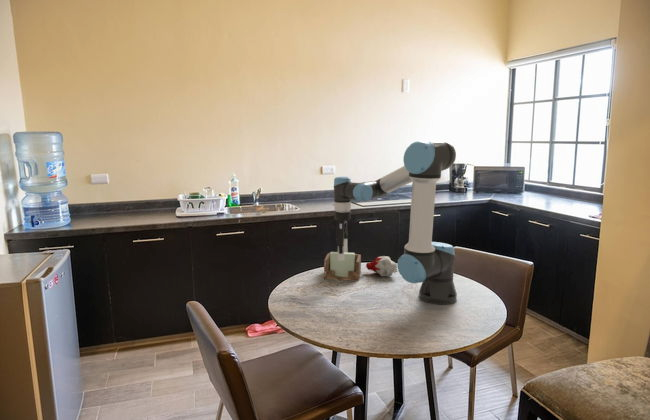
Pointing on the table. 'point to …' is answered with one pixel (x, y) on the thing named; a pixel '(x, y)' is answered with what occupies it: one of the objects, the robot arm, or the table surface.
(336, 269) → the door
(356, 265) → the cabinet
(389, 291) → the table surface
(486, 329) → the table surface
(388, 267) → the white and red lump
